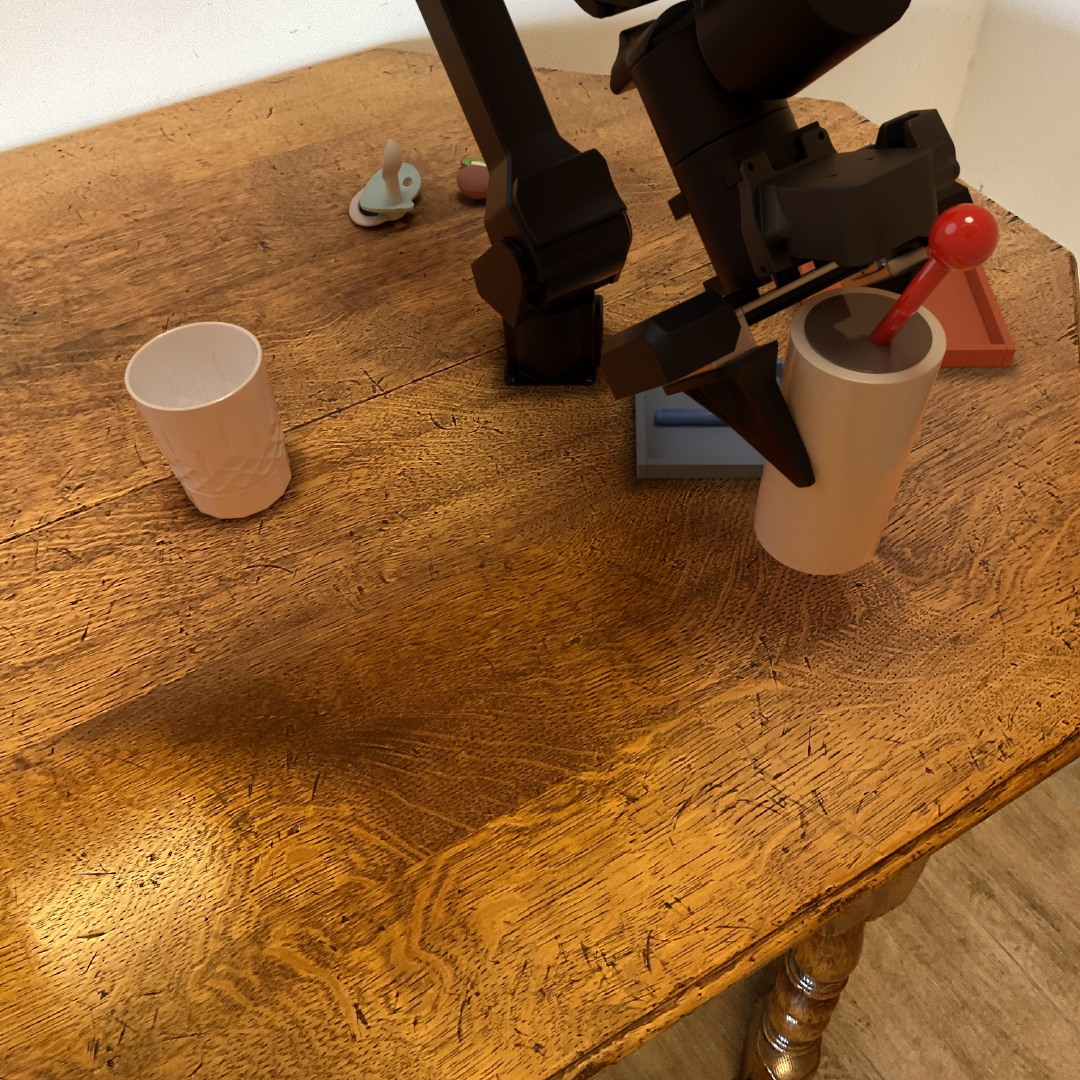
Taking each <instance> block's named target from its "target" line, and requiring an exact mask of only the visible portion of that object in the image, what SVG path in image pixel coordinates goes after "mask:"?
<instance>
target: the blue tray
mask: <svg viewBox="0 0 1080 1080" xmlns="http://www.w3.org/2000/svg"><path fill="white" fill-rule="evenodd" d="M783 359H784V357H777V368H776V380H777V383H778V385H779V380H780V375H781V370H782V364H783ZM663 386H664V385H663ZM659 409H705V408H704V407H703V406H701V405H700V404H698V403H697V402H696V401H694V400H693V399H692V398H690V397H689V396H687V395H686V394H685V393H683V392H680V393H677V394H673V395H670V396H667V395H666V394H665V392H664V390H663V388H662V386H660V387H657V388H654V389H651V390H647V391H644V392H641V393H638V394H635V395H634V411H635V413H634V414H635V416H634V417H635V450H636V451H635V452H636V479H761V477H762V472H763V466H764V461H765V458H764V457H763V456H762V455H761V454H760V453H759V452H757V451H756V450H755V449H754V448H753V447H752V446H751V445H750V444H749V443H748V442H746V441H745V440H744V439H743V438H742V437H741V436H740V435H739V434H737V433H736V432H735V431H734V430H733V429H732V428H731V427H729V426H728V425H727V424H658V423H657V422H656V421H655V420H654V414H655V412H656V411H657V410H659Z"/></svg>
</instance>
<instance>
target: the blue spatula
mask: <svg viewBox="0 0 1080 1080" xmlns="http://www.w3.org/2000/svg"><path fill="white" fill-rule="evenodd" d="M654 420H655V421H656V422H657V423H658V424H726V423H724V422H723V421H722V420H720V419H719V418H718V417H716V416H715V415H713V414H712V413H711V412H709V411H708V410H707V409H659V410H657V411H656V412H655V414H654Z"/></svg>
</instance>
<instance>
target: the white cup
mask: <svg viewBox="0 0 1080 1080" xmlns="http://www.w3.org/2000/svg"><path fill="white" fill-rule="evenodd" d="M124 384H125V385H124V386H125V388H126V390H127V392H128V394H129V396H130V398H131V400H132V401H133V403H134V405H135V407H136V408H137V410H138V412H139V413H140V416H141V418H142V420H143V421H144V424H145V425H146V427H147V429H148V430H149V432H150V434H151V437H152V439H153V440H154V441H155V444H156V445H157V447H158V449H159V451H160V453H161V454H162V456H163V457H164V459H165V461H166V462H167V465H168V466H169V468H170V469H171V471H172V473H173V474H174V476H175V478H176V479H177V480H178V481H179V482H180V484H181V486H182V488H183V490H184V492H185V493H186V495H187V497H188V499H189V500H190V502H191V503H192V504H193V505H194V506H195V508H196V509H197V510H198V511H199V512H200V513H202V514H205V515H208V516H210V517H214V518H216V519H220V520H223V519H225V520H226V519H242V518H243V519H244V518H246V517H249V516H251V515H254V514H257V513H259V512H262V511H265V510H267V509H268V508H269V507H271V506H272V505H273V504H274V503H275V502H277V501H278V500H279V499H280V498H281V497H282V496H284V494H285V492H286V490H287V488H288V486H289V484H290V482H291V479H292V471H291V464H290V463H291V461H290V458H289V454H288V451H287V448H286V444H285V443H286V442H285V441H286V437H285V433H284V430H283V426H282V421H281V416H280V413H279V409H278V405H277V401H276V398H275V397H276V396H275V394H274V389H273V387H272V383H271V379H270V375H269V371H268V367H267V364H266V359H265V356H264V353H263V348H262V346H261V344H260V341H259V340H258V338H257V337H256V336H255V335H254V334H253V333H252V332H251V331H249V330H248V329H246V328H244V327H242V326H240V325H237V324H234V323H229V322H224V321H199V322H194V323H193V322H192V323H188V324H184V325H181V326H178V327H177V326H176V327H174V328H171V329H169V330H167V331H165V332H162V333H160V334H159V335H157V336H155V337H153V338H152V339H150V340H149V341H147V342H146V343H144V344H143V345H142V346H141V347H140V348H139V349H138V350H137V351H136V352H135V353H134V354H133V355H132V357H131V359H129V362H128V363H127V365H126V368H125V371H124Z"/></svg>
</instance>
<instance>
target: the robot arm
mask: <svg viewBox="0 0 1080 1080" xmlns="http://www.w3.org/2000/svg"><path fill="white" fill-rule="evenodd" d="M414 1H415V3H416V5H417V8H418V10H419V13H420V15H421V17H422V19H423V22H424V24H425V27H426V29H427V31H428V34H429V36H430V38H431V40H432V43H433V45H434V47H435V50H436V52H437V55H438V56H439V59H440V62H441V63H442V66H443V68H444V71H445V73H446V75H447V78H448V80H449V82H450V84H451V87H452V90H453V92H454V94H455V95H456V96H455V97H456V98H457V101H458V103H459V105H460V108H461V110H462V112H463V114H464V117H465V119H466V122H467V124H468V127H469V129H470V131H471V133H472V136H473V138H474V141H475V143H476V145H477V148H478V150H479V153H480V154H481V157H482V160H484V161H485V164H486V166H487V169H488V172H489V181H488V190H487V198H485V200H486V201H485V208H484V209H485V210H484V217H483V225H484V229H485V231H486V234H487V237H488V240H489V243H490V245H491V246H490V247H489V248H488V249H487V250H486V251H485V252H483V253H482V254H481V255H480V256H479V257H478V258H477V259H475V260H474V261H473V262H472V263H471V264H470V270H471V273H472V277H473V280H474V284H475V288H476V291H477V295H478V296H479V297H480V298H481V299H482V300H483V301H484V302H485V303H486V304H488V305H489V306H490V307H491V308H492V309H493V310H494V311H495V312H496V313H497V314H498V315H499V316H500V317H501V322H502V323H501V324H502V334H503V343H504V355H505V360H504V361H505V362H504V371H503V380H502V381H503V384H504V385H505V386H507V387H569V386H570V387H572V386H573V387H576V386H577V387H578V386H579V387H580V386H581V387H583V386H585V387H589V386H593V385H595V384H596V383H597V367H598V366H599V365H600V370H601V372H602V374H603V376H604V379H605V381H606V383H607V385H608V387H609V389H610V392H611V394H612V397H613V398H614V400H615V402H616V401H619V400H622V399H626V398H629V397H632V396H635V394H638V393H641V392H644V391H647V390H651V389H654V388H657V387H660V386H662V388H663V390H664V392H665V394H666V395H667V396H670V395H673V394H677V393H680V392H683V393H685V394H686V395H687V396H689V397H690V398H692V399H693V400H694V401H696V402H697V403H698V404H700V405H701V406H703V407H704V408H705V409H707V410H708V411H709V412H711V413H712V414H713V415H715V416H716V417H718V418H719V419H720V420H722V421H723V422H724V423H726V424H727V425H728V426H729V427H731V428H732V429H733V430H734V431H735V432H736V433H737V434H739V435H740V436H741V437H742V438H743V439H744V440H745V441H746V442H748V443H749V444H750V445H751V446H752V447H753V448H754V449H755V450H756V451H757V452H759V453H760V454H761V455H762V456H763V457H764V458H765V459H766V460H767V461H769V462H770V463H771V464H772V465H773V466H774V467H775V468H776V469H777V470H778V471H780V472H781V473H782V474H783V475H784V476H785V477H786V478H787V479H788V480H789V481H791V482H792V483H793V484H794V485H795V486H796V487H798V488H805V487H810V486H812V485H814V484H815V482H816V480H815V476H814V473H813V469H812V466H811V462H810V459H809V456H808V453H807V451H806V448H805V446H804V443H803V441H802V439H801V437H800V434H799V432H798V430H797V427H796V425H795V423H794V420H793V418H792V416H791V413H790V411H789V409H788V406H787V404H786V402H785V399H784V397H783V395H782V392H781V390H780V388H779V385H778V383H777V380H776V368H777V358H779V357H778V354H779V345H780V343H779V340H778V339H775V340H773V341H769V342H766V343H764V344H761V345H757V343H756V340H755V338H754V336H753V333H752V331H751V328H750V327H752V326H754V325H756V324H758V323H760V322H762V321H764V320H766V319H768V318H770V317H772V316H774V315H776V314H779V313H780V312H782V311H784V310H786V309H788V308H790V307H792V306H794V305H796V304H798V303H801V301H802V300H804V299H806V298H808V297H810V296H812V295H814V294H816V293H818V292H820V291H822V290H824V289H826V288H828V287H830V286H832V285H834V284H836V283H838V282H841V285H842V287H843V288H845V287H869V288H877V289H882V290H887V291H890V292H894V293H897V294H900V295H901V294H902V293H903V292H904V291H905V289H906V288H907V287H908V286H909V284H910V283H911V282H912V280H913V279H914V278H915V277H916V275H917V274H918V273H919V272H920V270H921V269H922V268H923V267H924V265H925V264H926V263H927V261H928V260H929V259H930V258H931V257H930V258H928V256H927V254H926V251H925V249H924V248H925V247H928V246H929V244H928V238H929V233H930V229H931V227H932V225H933V223H934V221H935V220H936V219H937V218H938V216H939V215H940V214H941V213H943V212H944V211H945V210H947V209H949V208H950V207H953V206H955V205H958V204H965V203H971V204H975V203H974V200H973V198H972V195H971V193H970V189H969V187H967V186H965V185H964V184H962V183H960V182H958V181H957V179H958V178H959V177H960V174H961V165H960V163H959V161H958V160H957V151H956V145H955V143H954V141H953V138H952V136H951V135H950V133H949V131H948V129H947V127H946V125H945V123H944V121H943V119H942V117H941V115H940V113H939V111H938V109H937V108H927V109H913V110H908V111H907V112H905V113H903V114H900V115H898V116H896V117H893V118H891V119H889V120H886V121H884V122H882V124H880V126H879V129H878V131H877V135H876V138H875V139H876V140H875V143H869V144H867V145H864V146H862V147H860V148H858V149H855V150H853V151H844V152H843V151H842V152H839V151H837V149H836V148H835V147H834V145H833V142H832V140H831V137H830V135H829V133H828V130H827V129H826V128H824V127H823V126H821V124H820V122H819V121H818V120H815V121H813V122H810V123H808V124H806V125H804V126H801V127H799V126H798V123H797V121H796V118H795V116H794V113H793V111H792V109H791V107H790V104H789V102H788V99H790V98H792V97H794V96H796V95H798V94H799V93H800V92H802V91H803V90H804V89H806V88H807V87H809V86H810V85H812V84H813V83H815V82H816V81H818V80H819V79H820V78H822V77H823V76H824V75H826V74H827V73H828V72H830V71H831V70H833V69H834V68H835V67H837V66H839V65H840V64H841V63H843V62H844V61H845V60H846V59H848V58H849V57H851V56H852V55H854V54H855V53H856V52H858V51H859V50H861V49H863V48H864V47H865V46H867V45H868V44H869V43H871V42H872V41H873V40H875V39H876V38H878V37H879V36H881V35H882V34H883V33H885V32H886V31H887V30H889V29H890V28H892V27H893V26H894V25H895V24H897V23H899V21H900V20H901V19H902V17H903V16H904V15H905V13H906V12H907V10H908V9H909V8H910V6H911V2H912V0H681V1H679V2H676V3H674V4H672V5H670V6H669V7H667V8H666V9H665V10H664V11H663V12H662V13H661V14H660V15H659V16H658V17H657V18H653V19H650V20H647V21H645V22H642V23H638V24H636V25H634V26H630V27H628V28H624V29H623V30H621V31H620V32H619V34H618V50H617V54H616V58H615V60H614V62H613V64H612V66H611V70H610V78H609V89H610V91H611V93H612V94H613V95H615V96H619V95H622V94H625V93H627V92H630V91H632V90H635V89H636V90H637V93H638V95H639V97H640V99H641V102H642V104H643V106H644V109H645V112H646V114H647V116H648V119H649V121H650V123H651V126H652V127H653V130H654V132H655V134H656V137H657V139H658V142H659V144H660V146H661V149H662V152H663V154H664V156H665V158H666V160H667V163H668V165H669V168H670V170H671V172H672V174H673V177H674V179H675V181H676V184H677V186H678V188H679V191H680V192H678V193H677V194H676V195H674V196H672V197H671V198H670V199H668V200H667V204H668V206H669V209H670V212H671V214H672V216H673V218H674V220H675V222H677V221H680V220H681V219H684V218H687V217H689V216H690V217H691V219H692V221H693V224H694V226H695V228H696V231H697V233H698V236H699V238H700V241H701V243H702V245H703V247H704V250H705V252H706V254H707V256H708V259H709V261H710V264H711V266H712V268H713V270H714V273H715V275H714V276H711V277H710V278H708V279H705V280H704V281H702V282H701V283H702V286H703V288H704V291H702V292H700V293H699V294H696V295H694V296H692V297H690V298H687V299H685V300H683V301H681V302H679V303H676V304H675V305H673V306H671V307H668V308H666V309H664V310H662V311H659V312H658V313H656V314H654V315H652V316H650V317H647V318H645V319H643V320H641V321H639V322H637V323H634V324H633V325H631V326H629V327H626V328H625V329H622V330H620V331H618V332H616V333H614V334H611V335H610V336H608V337H606V338H604V296H603V295H602V294H601V293H599V294H598V293H597V294H596V290H598V289H600V288H603V287H605V286H608V285H609V284H610V285H613V284H616V283H617V282H619V280H620V278H621V275H622V272H623V269H624V267H625V264H626V261H627V259H628V255H629V251H630V248H631V246H632V242H633V234H634V232H633V226H632V223H631V220H630V217H629V214H628V212H627V211H628V206H627V204H625V201H624V200H623V199H622V197H621V196H620V194H619V192H618V190H617V188H616V186H615V184H614V180H613V178H612V175H611V171H610V168H609V165H608V162H607V159H606V158H605V157H604V155H603V154H602V153H601V152H600V150H598V149H597V148H595V147H592V148H589V149H587V150H585V151H581V150H579V149H578V148H577V147H576V146H574V145H573V144H571V143H570V142H569V141H568V140H567V139H565V138H564V137H563V136H562V135H561V134H560V132H559V130H558V127H557V126H556V123H555V121H554V119H553V115H552V114H551V111H550V108H549V106H548V104H547V101H546V99H545V97H544V94H543V91H542V89H541V87H540V85H539V81H538V79H537V77H536V75H535V73H534V71H533V67H532V65H531V63H530V60H529V59H528V55H527V53H526V51H525V48H524V46H523V43H522V41H521V38H520V36H519V34H518V31H517V29H516V27H515V24H514V22H513V19H512V17H511V14H510V12H509V10H508V7H507V5H506V2H505V0H414ZM573 1H574V2H575V4H576V5H577V6H578V7H579V8H580V9H581V10H582V11H583V12H584V13H586V14H588V15H589V16H591V17H592V18H595V19H600V20H603V19H607V18H611V17H614V16H617V15H621V14H623V13H626V12H629V11H632V10H635V9H638V8H641V7H644V6H647V5H649V4H653V3H656V2H658V1H660V0H573ZM810 261H813V263H814V266H815V268H813V269H811V270H809V271H807V272H805V273H803V274H800V272H799V269H798V267H799V266H801V265H804V264H806V263H808V262H810ZM772 282H773V283H774V285H775V287H773V288H770V289H768V290H767V291H764V292H763V293H761V294H760V290H759V288H762V287H764V286H767V285H768V284H770V283H772ZM588 379H591V381H588ZM508 380H513V381H508ZM663 385H664V386H663Z"/></svg>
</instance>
